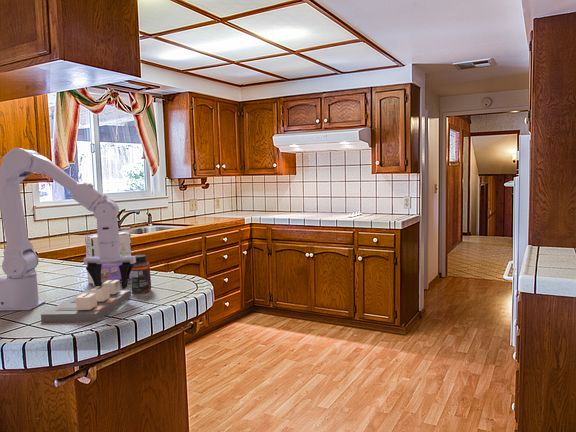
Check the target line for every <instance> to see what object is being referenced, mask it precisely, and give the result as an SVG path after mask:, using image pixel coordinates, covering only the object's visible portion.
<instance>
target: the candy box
mask: <svg viewBox="0 0 576 432" xmlns="http://www.w3.org/2000/svg"><path fill="white" fill-rule="evenodd" d="M131 240H132V236H131V232H128V231H127V232H126V231H119V245H120V255H121V256H133V255H132V251H133V250H132V241H131ZM84 241H85V242H84V243H85V258H86V257H97V256H99V250H98V236H97V234H93V235H87V236H84ZM111 262H116V261H111ZM120 265H122V264H102V267H101V283H104V282H106V281H107V280H120V282H122V281H121V273H120V269H119V266H120ZM87 266H88V265H86V267H87ZM86 271H87V270H86ZM128 280H131V277H130V275H129V279H128ZM87 283H88V284H89V285H91V286H94V287H95V284H94V282H93V279H92V277H91V275H90V274H89V272H88V271H87Z"/></svg>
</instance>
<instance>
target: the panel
mask: <svg viewBox="0 0 576 432" xmlns="http://www.w3.org/2000/svg"><path fill="white" fill-rule="evenodd" d="M120 290H121V291H119V292H118V293H116V294H110V298H108V299H107V300H105V301H104V302H97V306H95V307H94V308H92V309H90V310H76V297H78V296H79V295H81V294H84V293H90V290H83V291H82V292H80V293H78V294H76V295H75V296H73V297H71V298H68V299H67V300H65V301H64V302H61V303H59V304H57V305H56V306H54V307H52V308H50V309H47V311H45V312H43V313H41V314H40V319H41V323H74V322H75V323H77V322H79V323H81V322H83V323H84V322H90V323H91V322H94V323H95V322H98V321H100V320H101V319H102V318H104V317H105V316H106V315H108V314H109V313H110V312H112V311H113V310H114V309H116V308H117V307H119V306H120V305H122V304H123V303H124V302H126V301H127V300H128V299H130V298H131V297H132V289H120Z"/></svg>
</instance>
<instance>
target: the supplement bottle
mask: <svg viewBox="0 0 576 432" xmlns="http://www.w3.org/2000/svg"><path fill="white" fill-rule="evenodd" d="M134 256H136V263H134V265H133V268H132V270H131V272H130V277H131V279H130V286H131V287H130V290H131V293H133V294H146V293H148V292H151V290H152V279H151V278H152V277H151V266H150V262H148V260H147V255H146V254H136V255H134Z"/></svg>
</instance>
